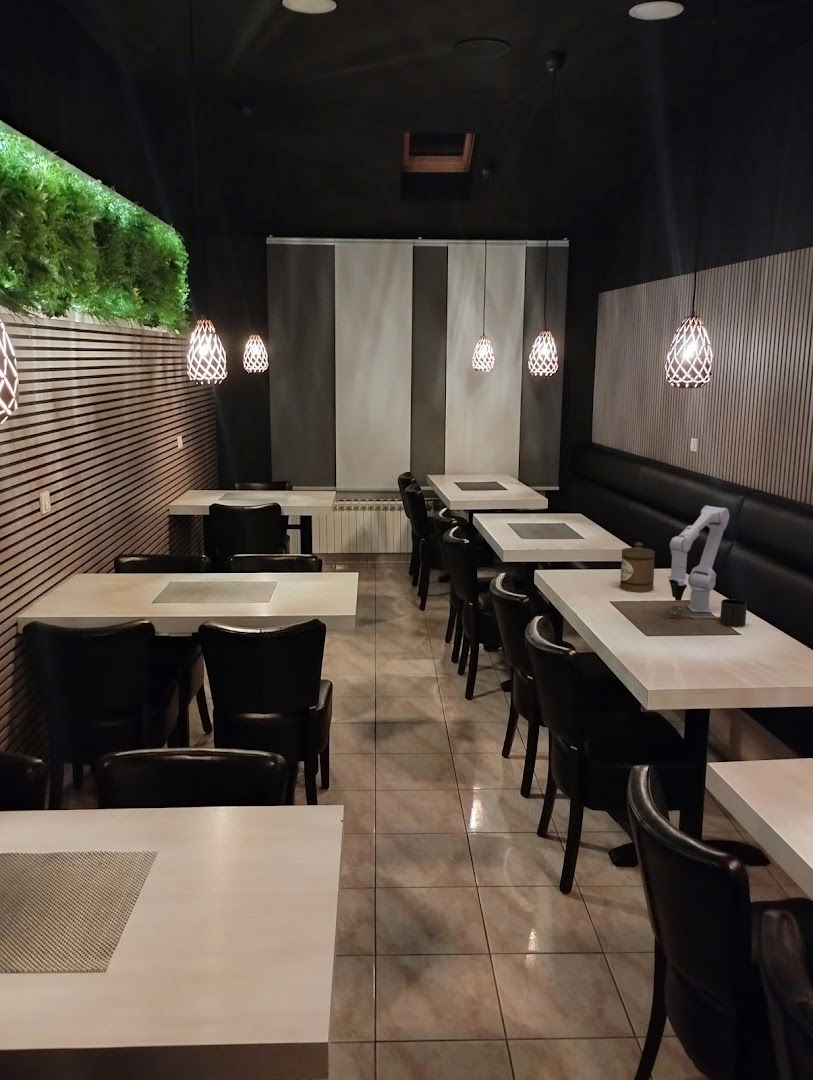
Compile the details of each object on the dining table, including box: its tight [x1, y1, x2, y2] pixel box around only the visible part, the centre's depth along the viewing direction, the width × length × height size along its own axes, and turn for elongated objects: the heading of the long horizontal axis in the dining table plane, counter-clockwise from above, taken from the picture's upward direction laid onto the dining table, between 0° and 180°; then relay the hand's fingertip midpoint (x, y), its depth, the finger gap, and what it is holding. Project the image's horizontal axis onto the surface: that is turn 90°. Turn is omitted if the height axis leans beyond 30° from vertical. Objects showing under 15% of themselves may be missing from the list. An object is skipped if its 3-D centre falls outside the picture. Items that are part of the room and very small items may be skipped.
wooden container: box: [619, 541, 656, 593], centre depth 398 cm, size 15×15×22 cm
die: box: [669, 603, 684, 616], centre depth 353 cm, size 4×4×4 cm
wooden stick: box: [665, 614, 720, 621], centre depth 351 cm, size 2×28×1 cm, turn 83°
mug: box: [719, 598, 748, 628], centre depth 341 cm, size 9×12×9 cm
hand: (676, 598), depth 352 cm, fingers open, 5 cm apart
